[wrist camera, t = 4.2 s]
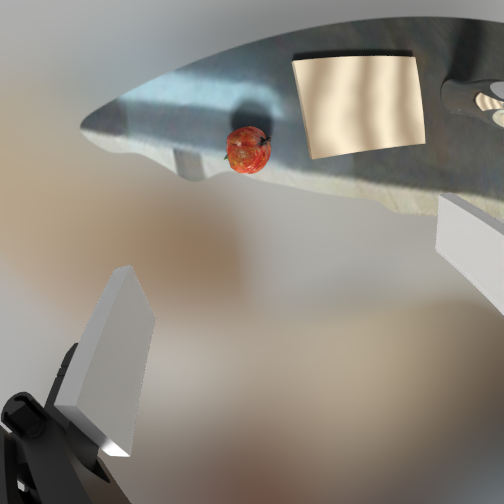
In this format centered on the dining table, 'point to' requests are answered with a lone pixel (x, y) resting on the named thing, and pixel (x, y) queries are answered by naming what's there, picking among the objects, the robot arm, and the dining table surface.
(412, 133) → the birch board
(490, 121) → the beer glass
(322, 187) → the dining table surface
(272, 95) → the dining table surface
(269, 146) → the pomegranate
